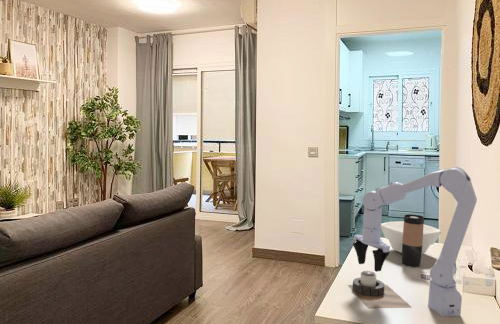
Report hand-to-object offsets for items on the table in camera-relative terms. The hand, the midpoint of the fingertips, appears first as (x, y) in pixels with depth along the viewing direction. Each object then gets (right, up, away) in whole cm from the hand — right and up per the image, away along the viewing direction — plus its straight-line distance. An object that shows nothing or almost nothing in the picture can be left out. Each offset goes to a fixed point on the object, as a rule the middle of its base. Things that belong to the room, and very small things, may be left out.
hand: (369, 267), depth 140 cm
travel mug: (+26, -7, +32) cm, 42 cm away
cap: (0, -8, +1) cm, 8 cm away
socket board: (+2, -9, -3) cm, 10 cm away
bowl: (+31, -6, +48) cm, 58 cm away
